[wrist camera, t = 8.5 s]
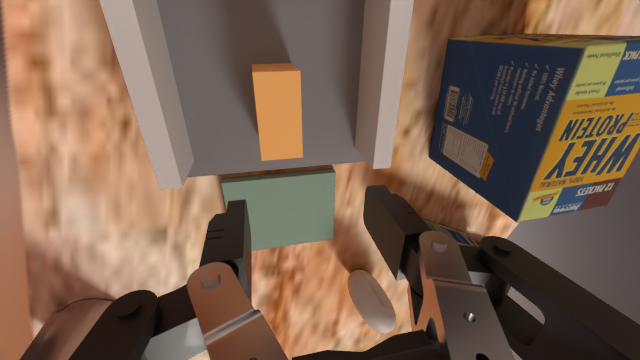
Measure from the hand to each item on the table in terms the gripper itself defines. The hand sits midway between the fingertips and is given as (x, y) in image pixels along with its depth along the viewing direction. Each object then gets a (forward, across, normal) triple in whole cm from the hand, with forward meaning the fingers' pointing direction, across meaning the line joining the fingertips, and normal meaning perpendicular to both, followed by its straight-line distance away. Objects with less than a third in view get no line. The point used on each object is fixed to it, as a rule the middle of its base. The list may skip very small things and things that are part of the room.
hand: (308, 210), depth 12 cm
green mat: (+21, 0, +14) cm, 26 cm away
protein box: (+22, -26, +1) cm, 34 cm away
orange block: (+21, 0, 0) cm, 21 cm away
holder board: (+21, 0, -2) cm, 22 cm away
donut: (+22, -12, +30) cm, 39 cm away
